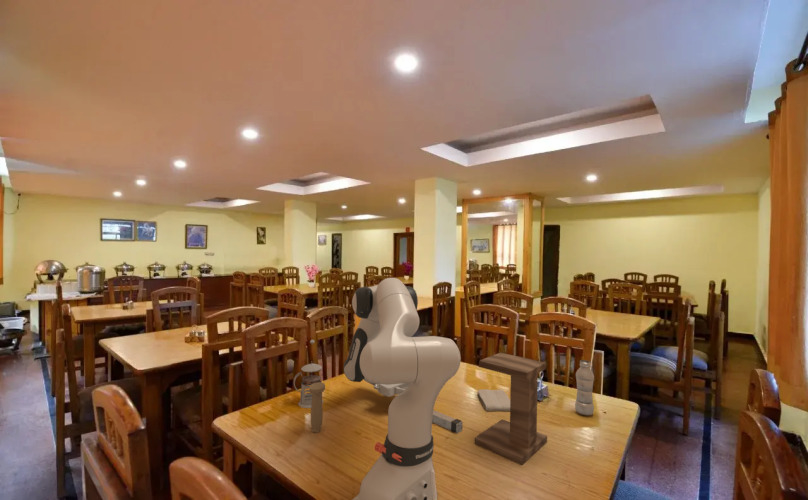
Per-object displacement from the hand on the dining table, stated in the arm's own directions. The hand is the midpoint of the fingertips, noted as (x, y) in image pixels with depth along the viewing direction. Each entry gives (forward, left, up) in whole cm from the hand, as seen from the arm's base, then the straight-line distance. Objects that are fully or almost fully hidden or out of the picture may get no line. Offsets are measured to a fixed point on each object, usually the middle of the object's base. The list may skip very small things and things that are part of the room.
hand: (415, 389), depth 135 cm
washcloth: (+31, -16, -9) cm, 36 cm away
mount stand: (+6, -36, -9) cm, 37 cm away
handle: (-34, +14, -9) cm, 38 cm away
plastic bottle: (+46, -46, -9) cm, 65 cm away
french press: (-24, +35, -9) cm, 44 cm away
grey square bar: (0, -9, -9) cm, 13 cm away
